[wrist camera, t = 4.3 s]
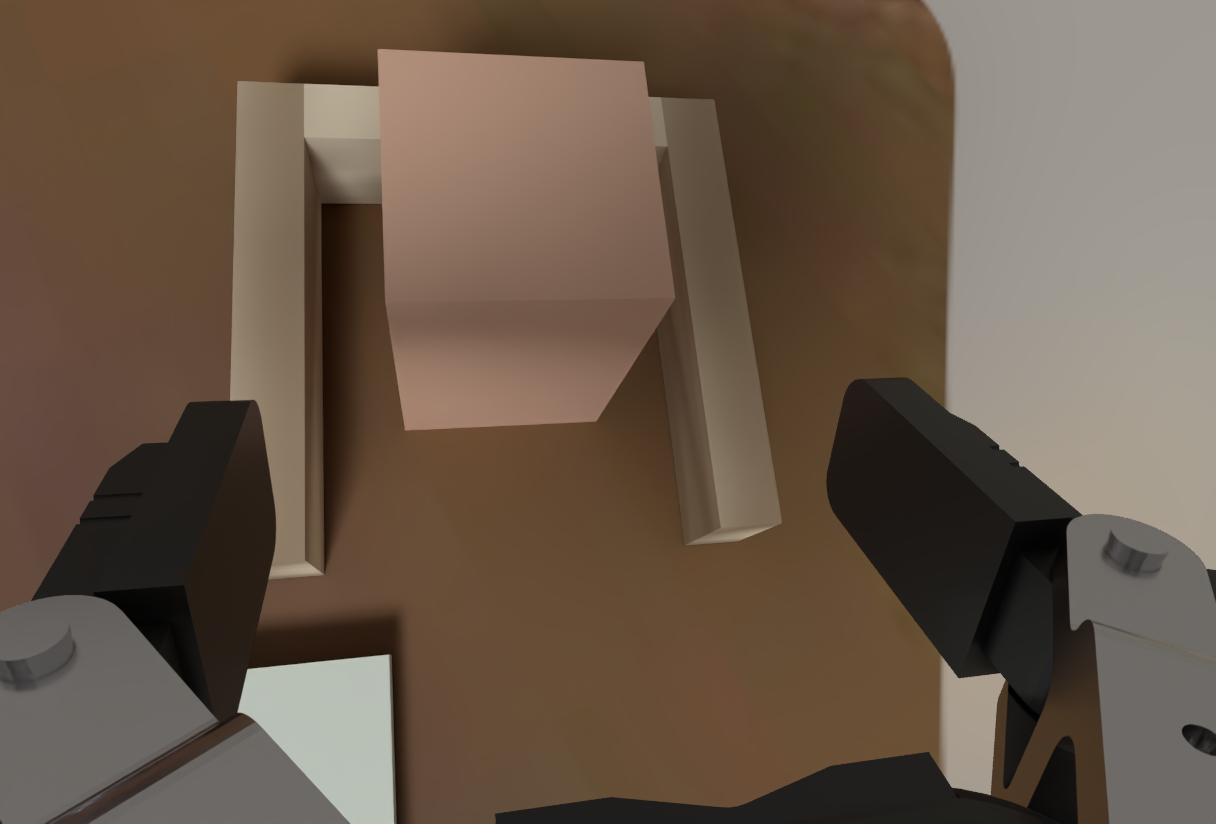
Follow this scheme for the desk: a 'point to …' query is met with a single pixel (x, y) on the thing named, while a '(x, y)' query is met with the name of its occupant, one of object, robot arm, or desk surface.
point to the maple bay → (351, 174)
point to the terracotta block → (517, 234)
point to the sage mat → (333, 728)
